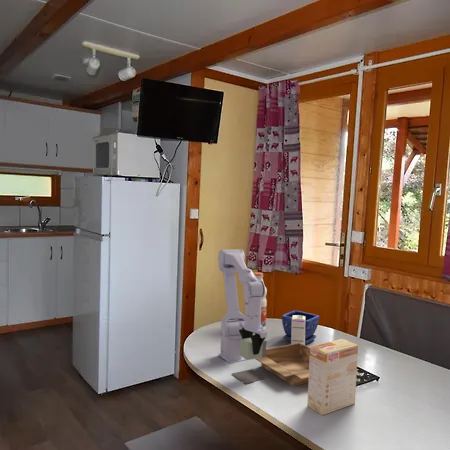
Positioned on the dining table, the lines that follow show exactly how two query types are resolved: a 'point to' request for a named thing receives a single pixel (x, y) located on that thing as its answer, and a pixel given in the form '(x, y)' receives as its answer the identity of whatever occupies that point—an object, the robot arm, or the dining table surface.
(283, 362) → the wooden tray
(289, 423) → the dining table surface
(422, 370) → the dining table surface
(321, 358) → the coffeecake box
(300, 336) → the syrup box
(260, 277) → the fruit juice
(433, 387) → the dining table surface
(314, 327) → the flower pot
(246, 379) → the mat
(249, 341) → the capped block
